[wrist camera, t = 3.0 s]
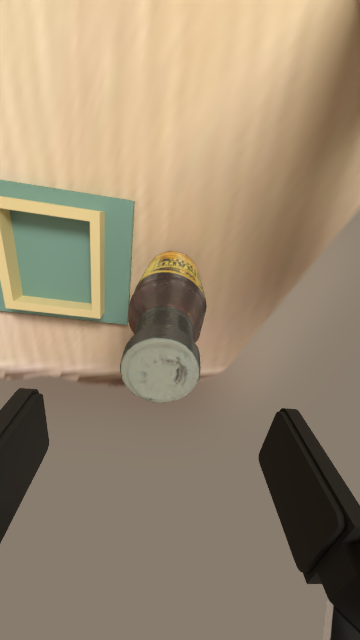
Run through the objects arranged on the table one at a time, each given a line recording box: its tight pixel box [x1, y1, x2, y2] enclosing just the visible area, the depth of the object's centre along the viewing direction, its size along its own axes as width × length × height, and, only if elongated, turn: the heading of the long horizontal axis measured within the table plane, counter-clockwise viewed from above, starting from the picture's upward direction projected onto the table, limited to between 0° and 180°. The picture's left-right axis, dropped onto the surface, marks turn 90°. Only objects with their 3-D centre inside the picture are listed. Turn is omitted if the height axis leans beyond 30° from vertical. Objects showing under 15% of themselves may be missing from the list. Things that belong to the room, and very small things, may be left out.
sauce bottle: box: [120, 251, 206, 403], centre depth 20 cm, size 6×6×20 cm
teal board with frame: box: [0, 180, 134, 325], centre depth 27 cm, size 17×15×3 cm
